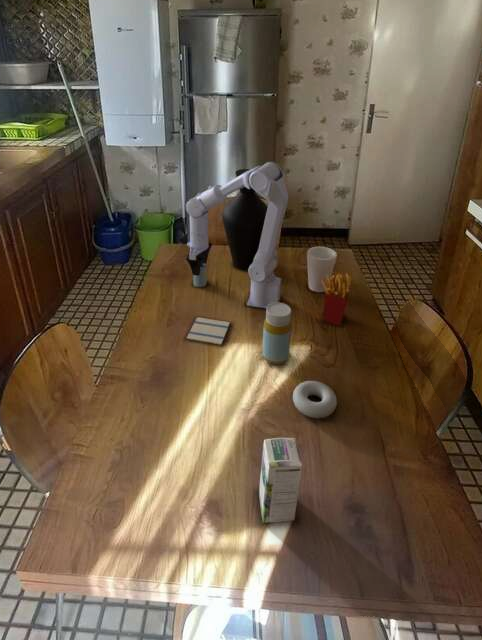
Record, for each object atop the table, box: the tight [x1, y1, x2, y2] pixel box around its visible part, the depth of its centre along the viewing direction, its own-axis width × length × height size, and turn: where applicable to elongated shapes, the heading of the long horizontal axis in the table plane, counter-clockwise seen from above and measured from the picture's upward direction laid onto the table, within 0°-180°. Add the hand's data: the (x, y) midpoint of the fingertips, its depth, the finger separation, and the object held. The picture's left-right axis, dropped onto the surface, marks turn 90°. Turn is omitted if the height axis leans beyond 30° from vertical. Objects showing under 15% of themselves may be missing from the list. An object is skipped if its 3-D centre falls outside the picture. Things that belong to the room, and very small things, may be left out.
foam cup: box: [306, 246, 338, 293], centre depth 144 cm, size 10×9×13 cm
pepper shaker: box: [192, 262, 208, 288], centre depth 146 cm, size 4×4×8 cm
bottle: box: [261, 302, 292, 365], centre depth 112 cm, size 7×7×15 cm
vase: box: [221, 168, 268, 271], centre depth 152 cm, size 17×17×35 cm
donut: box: [292, 380, 338, 419], centre depth 100 cm, size 10×4×10 cm
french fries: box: [321, 273, 352, 326], centre depth 128 cm, size 9×8×15 cm
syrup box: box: [258, 437, 303, 524], centre depth 76 cm, size 6×6×14 cm
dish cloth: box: [186, 316, 231, 346], centre depth 124 cm, size 10×10×1 cm
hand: (199, 269), depth 145 cm, fingers open, 7 cm apart
